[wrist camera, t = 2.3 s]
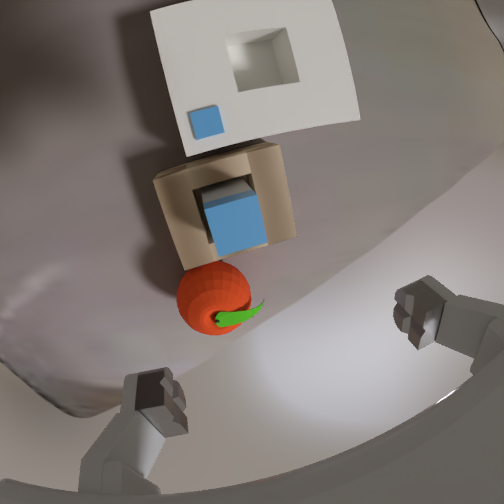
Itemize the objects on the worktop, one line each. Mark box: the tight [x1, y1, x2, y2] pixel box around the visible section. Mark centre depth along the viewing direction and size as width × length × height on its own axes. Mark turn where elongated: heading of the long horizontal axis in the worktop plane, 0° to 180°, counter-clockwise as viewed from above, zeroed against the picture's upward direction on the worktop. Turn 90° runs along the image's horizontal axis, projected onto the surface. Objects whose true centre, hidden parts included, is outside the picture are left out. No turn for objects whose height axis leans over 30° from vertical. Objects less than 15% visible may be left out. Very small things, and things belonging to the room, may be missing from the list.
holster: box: [153, 142, 297, 270], centre depth 24 cm, size 10×8×4 cm
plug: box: [200, 176, 268, 257], centre depth 22 cm, size 4×4×7 cm
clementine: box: [177, 261, 264, 335], centre depth 26 cm, size 8×7×7 cm
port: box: [150, 0, 361, 157], centre depth 19 cm, size 14×12×5 cm
